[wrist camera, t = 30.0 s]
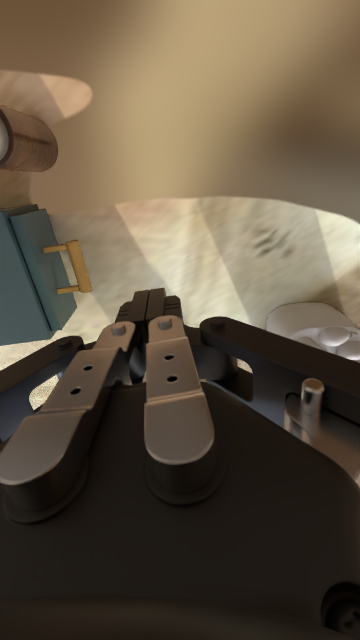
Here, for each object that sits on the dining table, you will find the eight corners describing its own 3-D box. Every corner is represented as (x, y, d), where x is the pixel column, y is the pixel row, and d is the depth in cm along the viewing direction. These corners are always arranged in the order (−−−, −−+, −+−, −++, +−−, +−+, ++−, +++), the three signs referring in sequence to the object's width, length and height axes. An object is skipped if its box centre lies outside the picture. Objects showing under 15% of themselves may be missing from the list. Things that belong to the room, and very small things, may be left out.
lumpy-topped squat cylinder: (268, 303, 42) (290, 332, 35) (355, 300, 43) (397, 328, 35) (260, 362, 47) (279, 399, 39) (339, 359, 47) (373, 395, 40)
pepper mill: (49, 114, 31) (-34, 71, 19) (64, 168, 34) (-1, 162, 21) (2, 121, 32) (-112, 84, 19) (20, 174, 34) (-70, 173, 21)
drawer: (79, 203, 35) (60, 209, 29) (106, 303, 41) (95, 325, 35) (-46, 221, 35) (-91, 231, 29) (-2, 318, 41) (-31, 342, 35)
